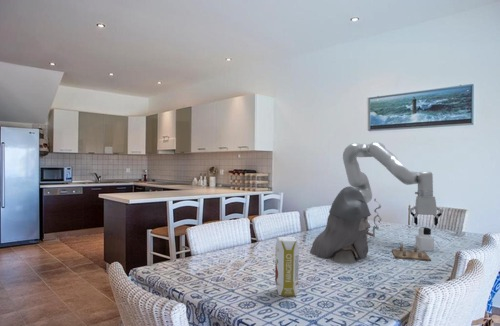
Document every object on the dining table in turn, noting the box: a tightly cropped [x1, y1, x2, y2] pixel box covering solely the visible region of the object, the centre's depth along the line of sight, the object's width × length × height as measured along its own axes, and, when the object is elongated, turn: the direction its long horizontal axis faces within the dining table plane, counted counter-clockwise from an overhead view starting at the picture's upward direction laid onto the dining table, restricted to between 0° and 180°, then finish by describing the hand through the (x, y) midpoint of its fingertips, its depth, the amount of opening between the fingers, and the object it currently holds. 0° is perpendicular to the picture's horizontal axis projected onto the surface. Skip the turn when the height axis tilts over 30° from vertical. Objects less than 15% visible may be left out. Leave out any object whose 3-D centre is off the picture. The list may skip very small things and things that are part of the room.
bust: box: [309, 185, 382, 265], centre depth 174 cm, size 34×34×35 cm
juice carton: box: [274, 236, 300, 297], centre depth 120 cm, size 8×9×19 cm
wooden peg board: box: [391, 243, 432, 262], centre depth 173 cm, size 16×16×4 cm
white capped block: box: [415, 226, 435, 252], centre depth 188 cm, size 7×7×12 cm
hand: (425, 224), depth 187 cm, fingers open, 9 cm apart
